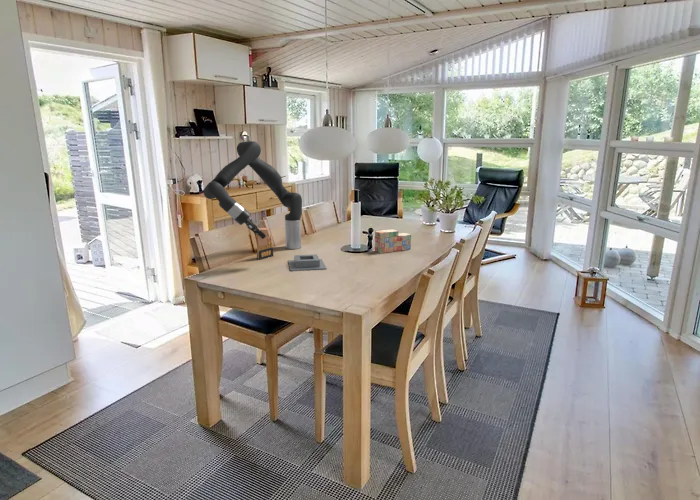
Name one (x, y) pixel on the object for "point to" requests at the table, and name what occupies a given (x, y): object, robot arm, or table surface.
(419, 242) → the table surface
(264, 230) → the block
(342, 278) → the table surface
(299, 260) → the socket
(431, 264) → the table surface
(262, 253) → the ammunition clip
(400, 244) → the stack of blocks
